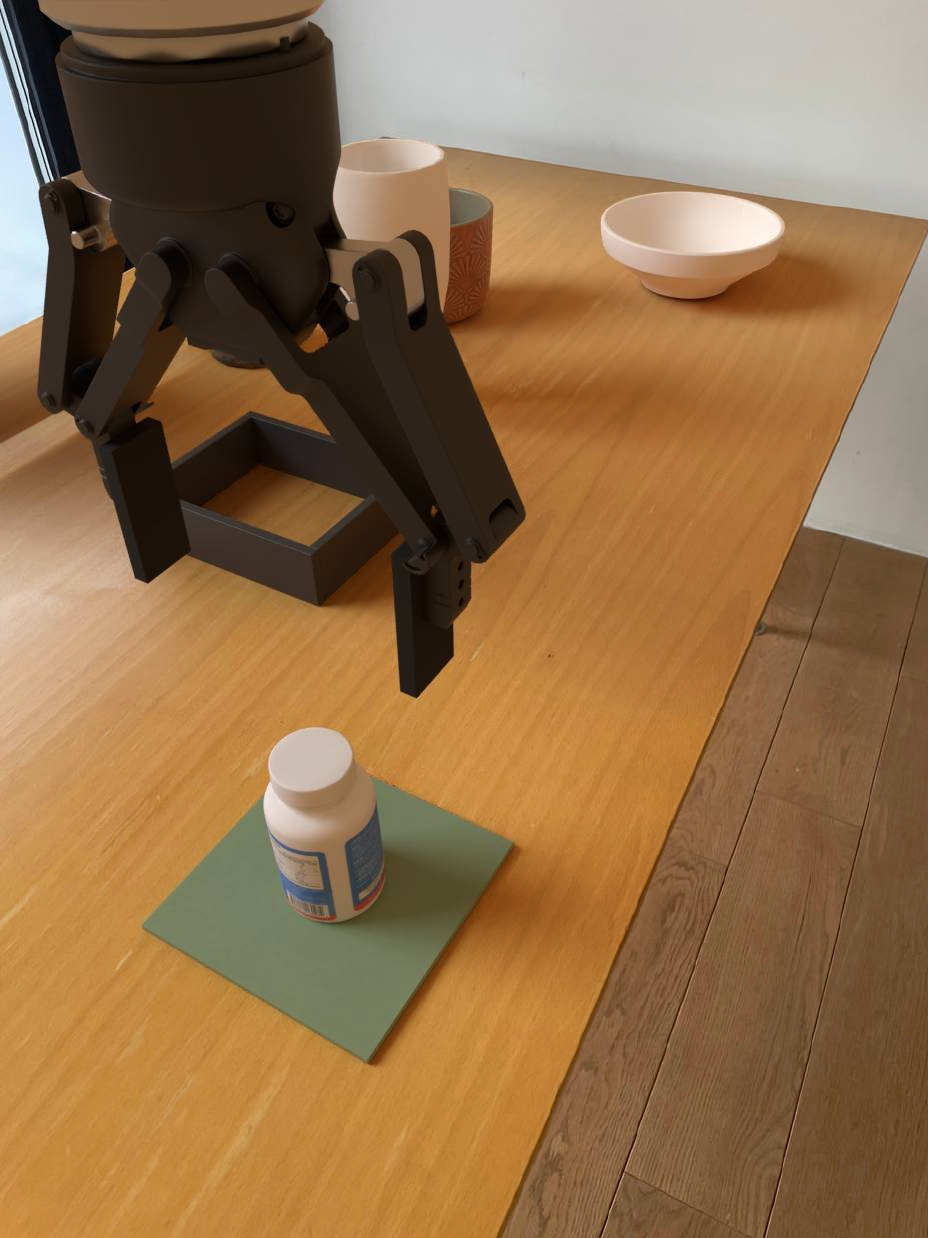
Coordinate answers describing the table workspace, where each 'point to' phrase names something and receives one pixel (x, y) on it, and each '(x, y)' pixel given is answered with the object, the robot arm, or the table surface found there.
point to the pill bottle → (324, 826)
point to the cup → (395, 195)
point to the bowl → (691, 240)
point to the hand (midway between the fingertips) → (287, 616)
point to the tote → (262, 551)
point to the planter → (468, 253)
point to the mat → (339, 951)
